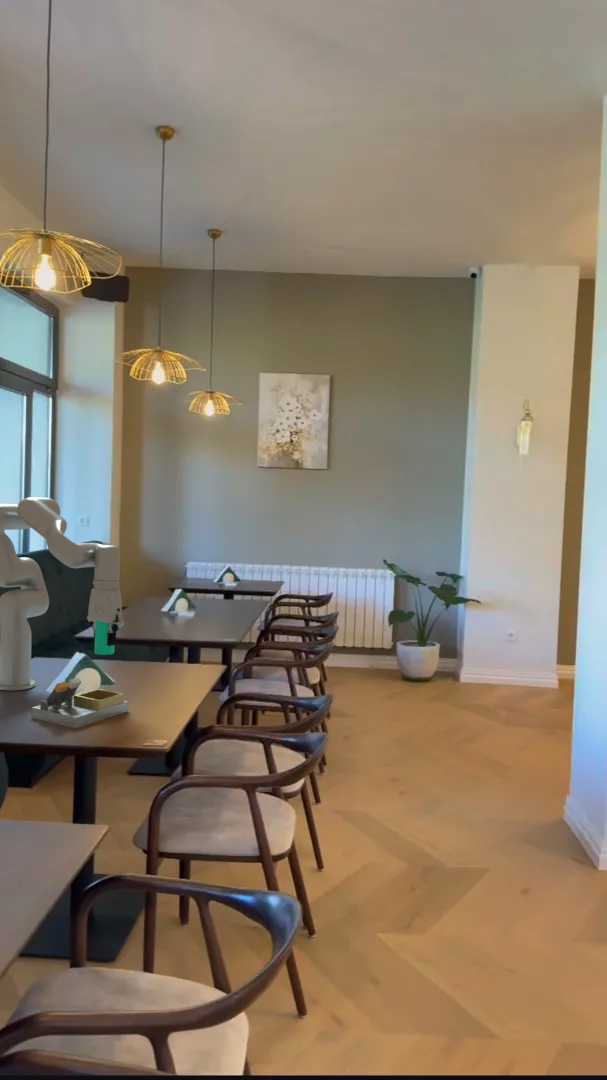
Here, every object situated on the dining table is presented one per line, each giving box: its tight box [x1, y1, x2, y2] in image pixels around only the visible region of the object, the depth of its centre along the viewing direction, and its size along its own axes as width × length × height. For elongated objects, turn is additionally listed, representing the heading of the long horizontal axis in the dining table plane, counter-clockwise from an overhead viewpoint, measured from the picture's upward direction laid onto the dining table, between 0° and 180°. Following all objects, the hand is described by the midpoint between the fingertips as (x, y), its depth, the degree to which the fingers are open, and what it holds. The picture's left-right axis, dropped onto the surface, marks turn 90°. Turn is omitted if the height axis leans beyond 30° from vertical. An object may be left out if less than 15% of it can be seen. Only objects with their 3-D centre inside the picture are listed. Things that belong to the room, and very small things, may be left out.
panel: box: [31, 688, 129, 730], centre depth 221 cm, size 17×21×6 cm
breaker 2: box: [61, 677, 82, 704], centre depth 219 cm, size 2×3×9 cm
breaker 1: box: [46, 681, 69, 708], centre depth 214 cm, size 2×3×9 cm
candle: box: [93, 620, 116, 656], centre depth 235 cm, size 6×6×12 cm
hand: (104, 643), depth 235 cm, fingers closed on candle, 4 cm apart
